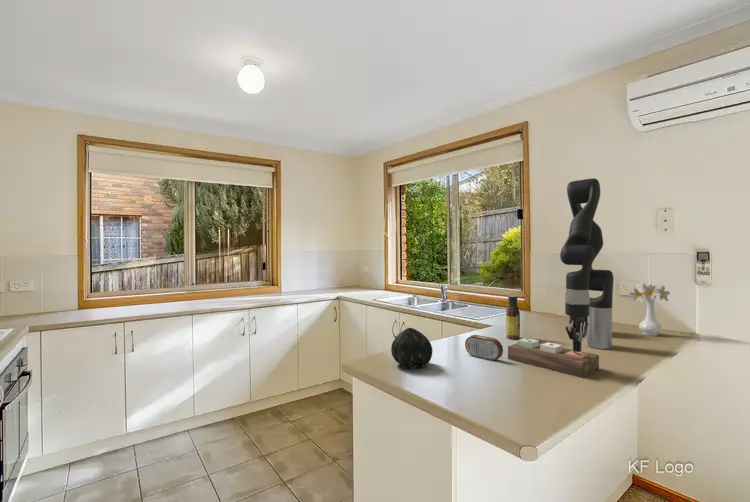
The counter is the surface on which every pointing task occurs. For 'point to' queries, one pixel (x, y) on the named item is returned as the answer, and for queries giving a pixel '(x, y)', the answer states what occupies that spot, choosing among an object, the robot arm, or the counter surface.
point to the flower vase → (650, 307)
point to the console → (554, 360)
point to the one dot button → (551, 347)
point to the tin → (484, 347)
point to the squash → (411, 349)
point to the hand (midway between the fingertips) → (577, 351)
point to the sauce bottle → (512, 319)
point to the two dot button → (528, 343)
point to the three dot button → (577, 355)
